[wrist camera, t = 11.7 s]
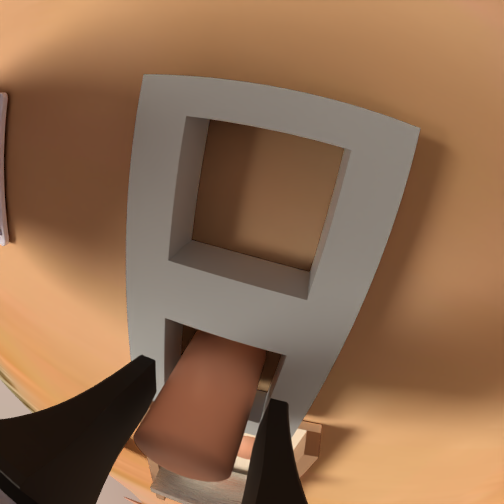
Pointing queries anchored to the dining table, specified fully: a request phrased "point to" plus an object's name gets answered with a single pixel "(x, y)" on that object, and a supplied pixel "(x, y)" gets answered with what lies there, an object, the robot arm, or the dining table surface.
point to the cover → (199, 488)
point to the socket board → (244, 266)
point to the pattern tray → (302, 442)
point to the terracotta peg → (203, 408)
